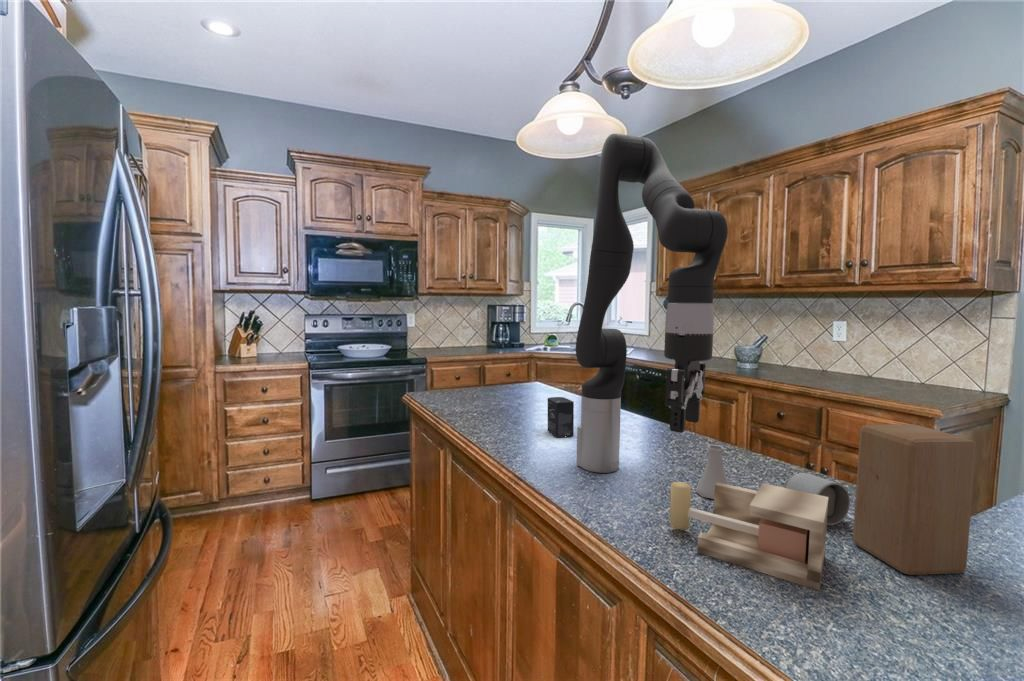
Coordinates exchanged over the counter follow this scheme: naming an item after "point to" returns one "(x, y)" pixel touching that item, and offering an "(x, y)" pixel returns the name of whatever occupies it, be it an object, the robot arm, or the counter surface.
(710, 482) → the flask
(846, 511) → the ceramic mug
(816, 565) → the shelf
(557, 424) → the box
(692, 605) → the counter surface
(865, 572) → the counter surface
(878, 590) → the counter surface
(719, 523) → the pull block
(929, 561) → the wooden block
